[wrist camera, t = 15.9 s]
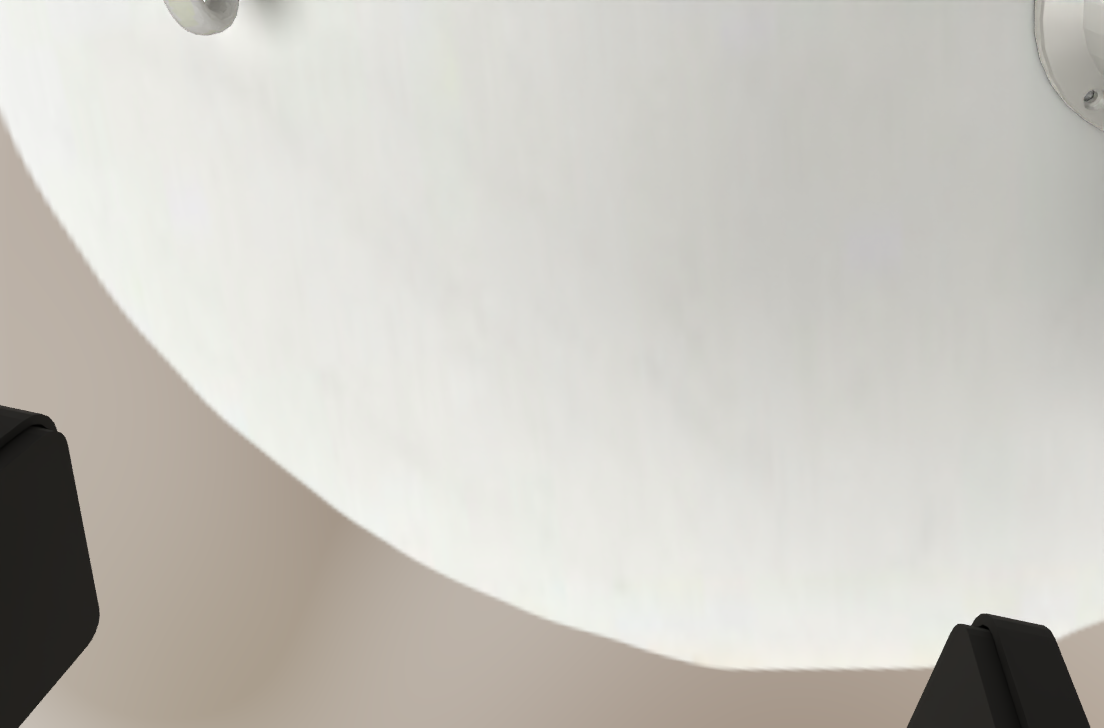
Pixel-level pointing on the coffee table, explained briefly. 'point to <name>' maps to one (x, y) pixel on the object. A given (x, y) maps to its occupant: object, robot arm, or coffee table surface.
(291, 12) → the coffee table surface
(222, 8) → the teacup
